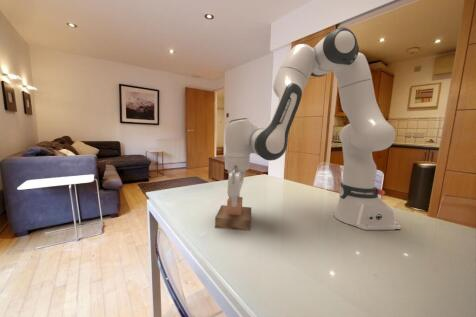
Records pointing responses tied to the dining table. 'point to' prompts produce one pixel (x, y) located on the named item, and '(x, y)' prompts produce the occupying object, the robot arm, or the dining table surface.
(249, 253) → the dining table surface
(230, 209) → the terracotta cube
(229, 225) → the walnut board
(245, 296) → the dining table surface
